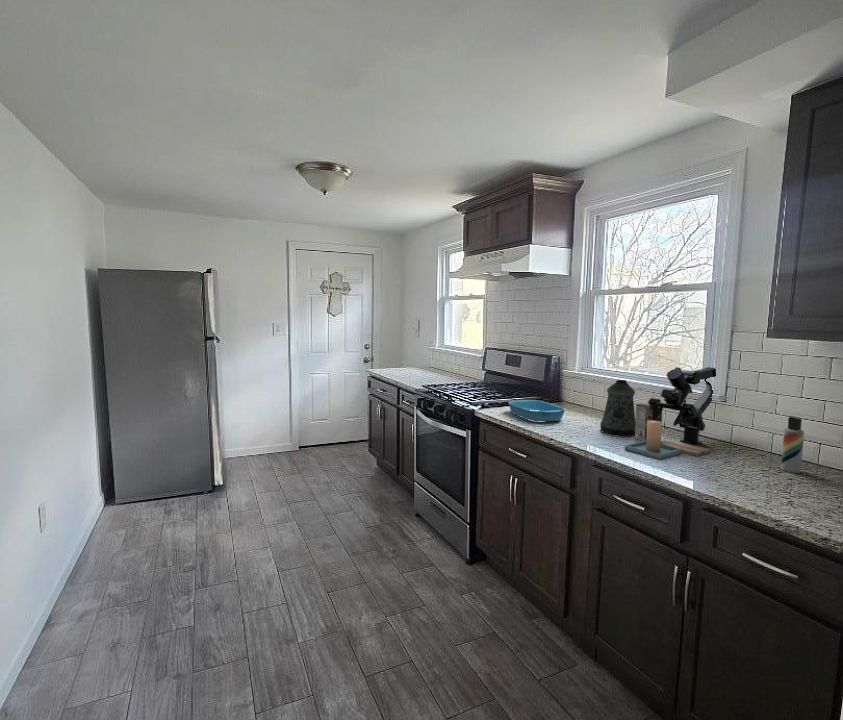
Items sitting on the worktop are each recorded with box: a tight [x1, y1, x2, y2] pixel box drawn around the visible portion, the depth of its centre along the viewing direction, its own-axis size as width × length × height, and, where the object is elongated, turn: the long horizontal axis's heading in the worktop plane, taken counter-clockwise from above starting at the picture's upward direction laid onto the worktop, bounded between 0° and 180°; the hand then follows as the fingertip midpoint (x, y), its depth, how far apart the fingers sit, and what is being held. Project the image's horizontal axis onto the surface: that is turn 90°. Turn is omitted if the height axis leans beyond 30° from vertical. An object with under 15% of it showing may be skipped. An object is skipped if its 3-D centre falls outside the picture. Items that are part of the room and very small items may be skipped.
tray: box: [624, 440, 682, 460], centre depth 193 cm, size 15×15×2 cm
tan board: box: [660, 439, 712, 457], centre depth 197 cm, size 11×17×1 cm, turn 32°
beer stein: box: [599, 379, 636, 437], centre depth 226 cm, size 16×19×25 cm
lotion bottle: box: [780, 415, 805, 474], centre depth 169 cm, size 6×6×20 cm
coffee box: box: [634, 402, 663, 442], centre depth 212 cm, size 9×6×16 cm
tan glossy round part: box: [646, 420, 663, 452], centre depth 192 cm, size 5×5×12 cm
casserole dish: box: [508, 399, 566, 422], centre depth 258 cm, size 37×22×7 cm, turn 16°
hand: (663, 422), depth 195 cm, fingers open, 9 cm apart
